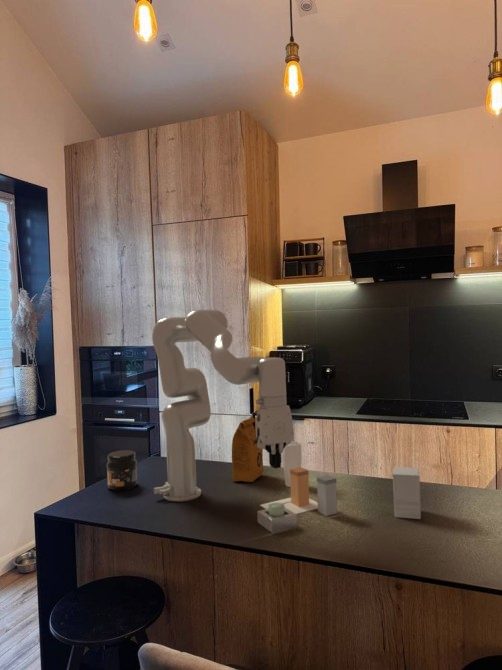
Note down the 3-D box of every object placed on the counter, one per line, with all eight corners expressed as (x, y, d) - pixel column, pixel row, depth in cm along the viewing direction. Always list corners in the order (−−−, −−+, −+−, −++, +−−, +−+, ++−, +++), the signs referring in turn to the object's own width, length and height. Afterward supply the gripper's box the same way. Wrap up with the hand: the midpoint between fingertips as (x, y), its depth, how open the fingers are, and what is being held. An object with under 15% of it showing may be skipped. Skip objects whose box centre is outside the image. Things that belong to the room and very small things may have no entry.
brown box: (298, 507, 145) (297, 472, 145) (291, 503, 149) (289, 469, 149) (309, 504, 147) (308, 470, 147) (301, 500, 151) (300, 467, 151)
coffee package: (268, 475, 179) (266, 417, 179) (252, 485, 168) (250, 423, 168) (244, 472, 184) (242, 415, 183) (228, 482, 173) (226, 421, 172)
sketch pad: (280, 519, 138) (280, 517, 138) (259, 506, 148) (259, 504, 148) (324, 507, 145) (324, 506, 145) (302, 495, 156) (302, 494, 156)
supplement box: (420, 510, 141) (419, 467, 141) (421, 520, 134) (419, 475, 134) (394, 507, 143) (393, 466, 143) (393, 517, 136) (392, 473, 136)
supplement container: (101, 489, 169) (99, 456, 168) (120, 480, 178) (118, 448, 178) (125, 493, 165) (124, 458, 164) (143, 483, 174) (142, 450, 174)
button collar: (272, 533, 128) (271, 520, 128) (257, 523, 135) (257, 511, 135) (296, 526, 132) (296, 514, 132) (281, 517, 139) (281, 505, 139)
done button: (274, 522, 131) (273, 509, 130) (266, 517, 134) (265, 504, 134) (287, 518, 133) (287, 506, 133) (279, 513, 136) (278, 501, 136)
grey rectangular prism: (326, 517, 138) (325, 480, 138) (317, 512, 142) (316, 477, 141) (337, 514, 140) (336, 478, 140) (328, 509, 144) (327, 474, 143)
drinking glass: (302, 482, 169) (301, 440, 169) (302, 489, 162) (301, 445, 162) (283, 482, 170) (282, 440, 169) (282, 489, 163) (281, 445, 163)
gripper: (256, 406, 126) (258, 475, 126) (302, 400, 133) (305, 465, 133) (243, 403, 133) (245, 468, 133) (288, 397, 140) (290, 459, 140)
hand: (275, 466), depth 133 cm, fingers closed
